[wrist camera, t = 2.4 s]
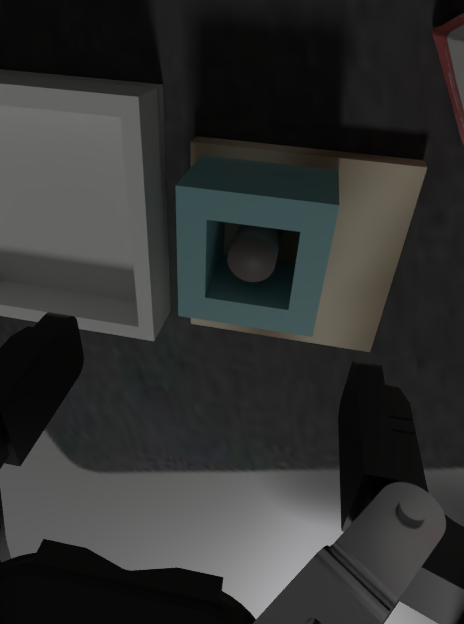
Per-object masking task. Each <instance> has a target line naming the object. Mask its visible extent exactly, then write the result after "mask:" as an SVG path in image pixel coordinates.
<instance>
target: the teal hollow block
mask: <svg viewBox="0 0 464 624" xmlns="http://www.w3.org/2000/svg"><path fill="white" fill-rule="evenodd" d="M338 210H339V170H334V169H325V168H316V167H307V166H298V165H289V164H280V163H271V162H262V161H253V160H244V159H235V158H226V157H217V156H208V155H201V156H200V157H199V158H198V160H197V161H196V162H195V163H194V164H193V166H192V167H191V168H190V169H189V170H188V171H187V173H186V174H185V175H184V176H183V177H182V179H181V180H180V181H179V182H178V183H177V184H176V226H177V271H178V316H183V317H189V318H195V319H202V320H208V321H215V322H221V323H227V324H234V325H240V326H246V327H253V328H259V329H265V330H272V331H278V332H284V333H291V334H297V335H303V336H310V337H313V332H314V327H315V322H316V317H317V312H318V308H319V303H320V298H321V293H322V288H323V283H324V278H325V273H326V268H327V264H328V259H329V254H330V249H331V244H332V239H333V234H334V229H335V224H336V219H337V215H338ZM225 222H228V223H236V224H244V225H251V226H259V227H267V228H274V229H282V230H290V231H298V232H300V237H299V243H298V250H297V256H296V263H295V264H289V263H282V262H276V265H275V268H274V271H273V273H272V274H271V275H270V276H269V277H268V278H266V279H265V280H262V281H259V282H248V281H244V280H242V279H240V278H238V277H237V276H235V275H234V274H233V272H232V271H231V270H230V268H229V265H228V261H227V257H228V255H224V237H225Z"/></svg>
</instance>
